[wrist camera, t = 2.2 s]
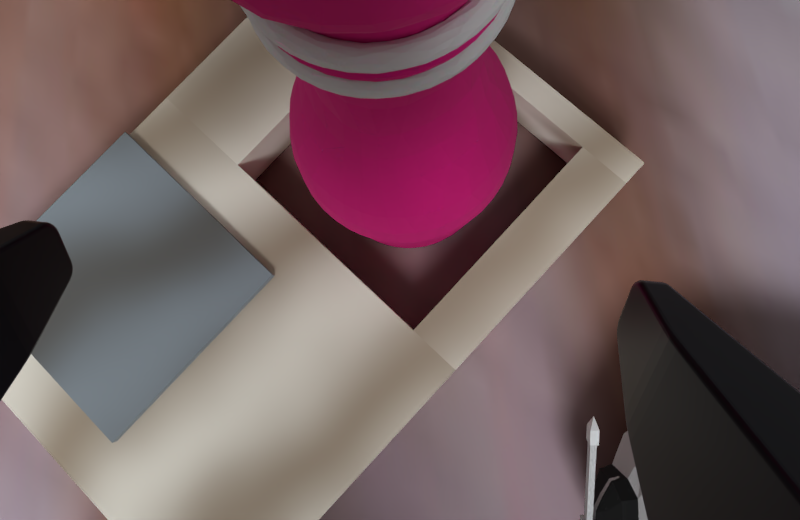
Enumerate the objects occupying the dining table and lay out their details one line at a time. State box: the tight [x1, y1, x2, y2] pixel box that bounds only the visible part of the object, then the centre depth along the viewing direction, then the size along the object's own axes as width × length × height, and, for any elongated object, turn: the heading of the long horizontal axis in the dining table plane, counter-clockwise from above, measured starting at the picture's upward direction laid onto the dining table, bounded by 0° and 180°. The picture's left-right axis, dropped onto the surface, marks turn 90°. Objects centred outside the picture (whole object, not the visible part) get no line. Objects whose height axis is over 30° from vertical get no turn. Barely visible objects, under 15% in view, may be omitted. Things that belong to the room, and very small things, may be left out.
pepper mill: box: [232, 0, 517, 248], centre depth 12 cm, size 7×7×20 cm
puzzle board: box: [2, 17, 644, 520], centre depth 20 cm, size 15×22×2 cm
